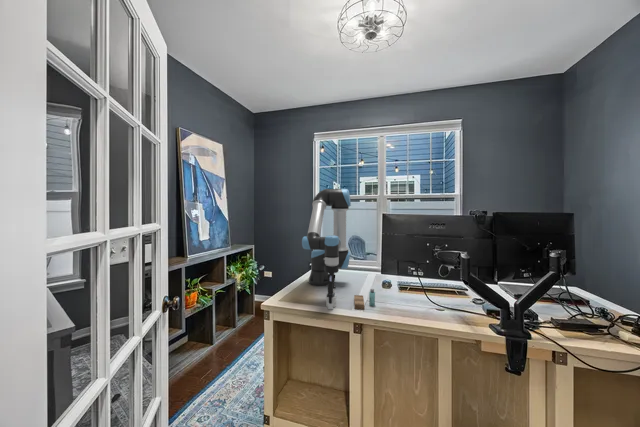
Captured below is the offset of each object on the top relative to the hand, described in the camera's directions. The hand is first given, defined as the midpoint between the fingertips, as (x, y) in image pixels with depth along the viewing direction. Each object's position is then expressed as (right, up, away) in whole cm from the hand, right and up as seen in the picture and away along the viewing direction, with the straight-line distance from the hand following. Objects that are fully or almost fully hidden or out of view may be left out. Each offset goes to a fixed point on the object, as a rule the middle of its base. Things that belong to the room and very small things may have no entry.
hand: (331, 304), depth 145 cm
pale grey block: (0, 0, 0) cm, 0 cm away
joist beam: (+15, 0, +1) cm, 15 cm away
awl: (+22, 0, +1) cm, 22 cm away
